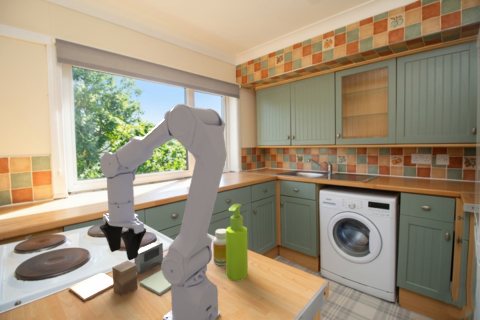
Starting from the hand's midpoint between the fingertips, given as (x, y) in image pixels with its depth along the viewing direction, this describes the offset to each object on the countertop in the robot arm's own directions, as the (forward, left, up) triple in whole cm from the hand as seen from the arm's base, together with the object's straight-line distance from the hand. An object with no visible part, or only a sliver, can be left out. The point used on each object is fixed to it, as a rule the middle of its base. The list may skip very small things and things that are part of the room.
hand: (123, 254), depth 60 cm
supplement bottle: (-13, -24, -9) cm, 29 cm away
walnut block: (0, 0, -9) cm, 9 cm away
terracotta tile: (+7, +4, -9) cm, 12 cm away
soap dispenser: (-21, -20, -9) cm, 30 cm away
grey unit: (+4, -10, -9) cm, 14 cm away
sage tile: (-6, -7, -9) cm, 13 cm away
